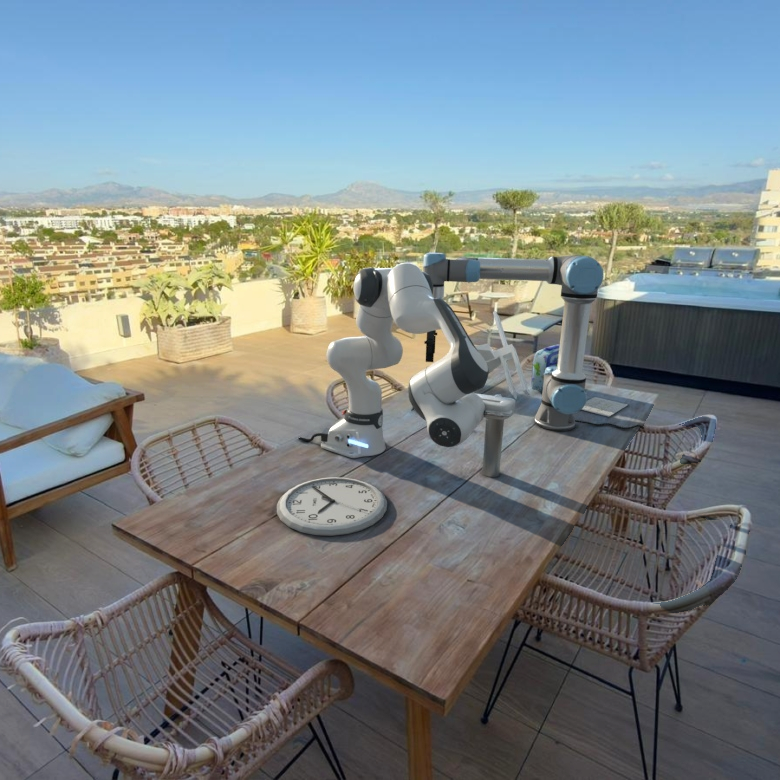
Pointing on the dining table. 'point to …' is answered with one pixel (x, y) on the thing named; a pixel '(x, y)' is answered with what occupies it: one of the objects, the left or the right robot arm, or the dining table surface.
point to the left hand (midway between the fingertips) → (480, 394)
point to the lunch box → (543, 365)
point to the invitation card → (603, 406)
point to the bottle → (492, 447)
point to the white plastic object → (503, 358)
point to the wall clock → (331, 506)
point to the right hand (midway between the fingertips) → (430, 357)
